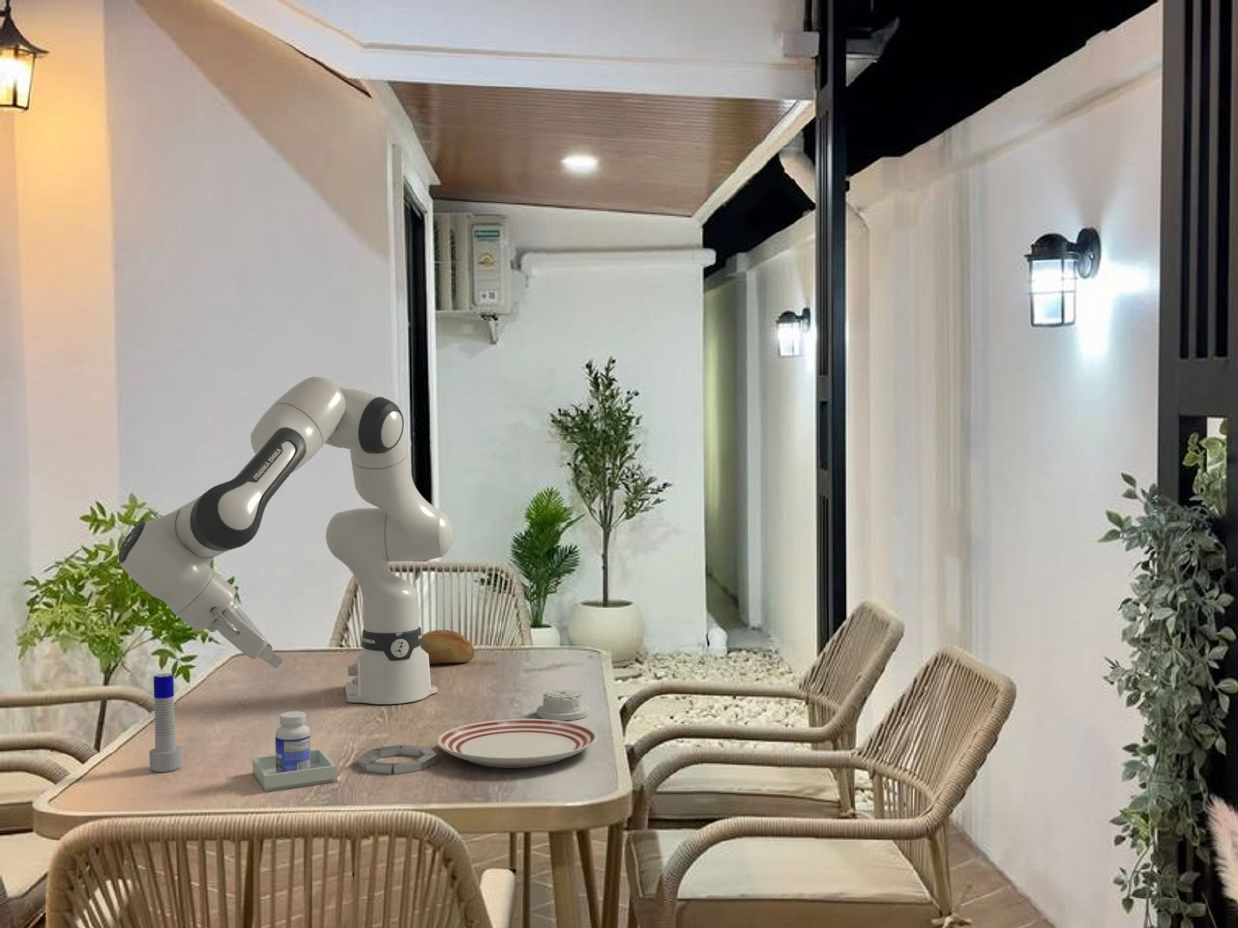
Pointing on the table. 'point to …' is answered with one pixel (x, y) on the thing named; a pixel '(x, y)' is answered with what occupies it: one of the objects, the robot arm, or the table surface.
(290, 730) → the pill bottle
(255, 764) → the bin
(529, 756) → the dinner plate
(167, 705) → the bolt
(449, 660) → the bread roll
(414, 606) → the robot arm
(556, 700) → the mechanical component
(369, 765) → the collar
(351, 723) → the table surface
